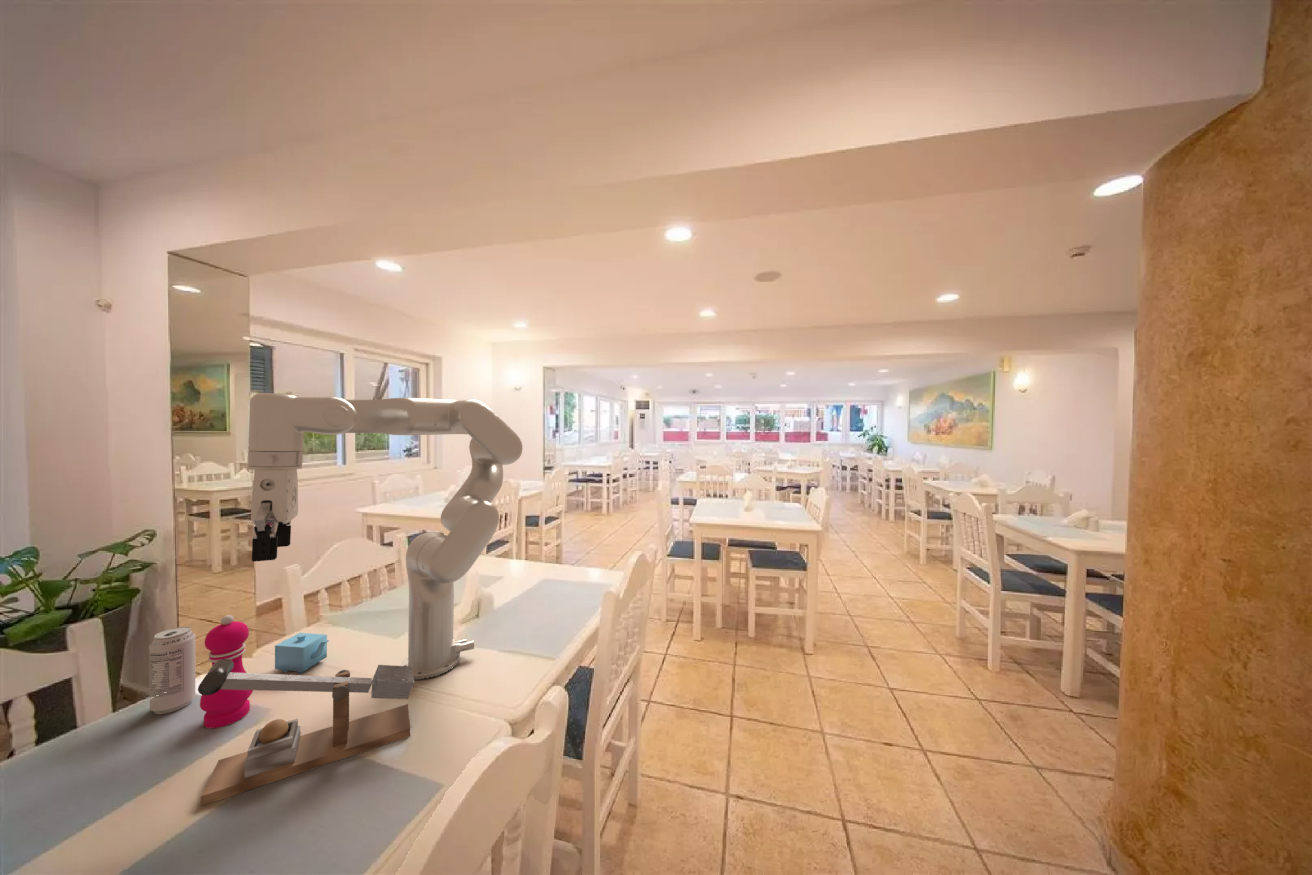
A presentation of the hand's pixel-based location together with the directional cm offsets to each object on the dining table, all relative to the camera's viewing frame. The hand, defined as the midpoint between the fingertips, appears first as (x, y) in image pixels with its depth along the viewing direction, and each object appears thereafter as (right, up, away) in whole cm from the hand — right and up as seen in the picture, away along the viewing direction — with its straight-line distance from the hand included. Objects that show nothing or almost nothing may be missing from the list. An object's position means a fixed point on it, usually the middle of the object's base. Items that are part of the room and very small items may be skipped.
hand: (272, 553), depth 77 cm
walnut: (+7, -28, -8) cm, 30 cm away
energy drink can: (-26, -33, +7) cm, 43 cm away
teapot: (-12, -33, +21) cm, 41 cm away
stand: (+12, -34, -4) cm, 36 cm away
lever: (+12, -22, -5) cm, 26 cm away
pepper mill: (-12, -33, +4) cm, 36 cm away
